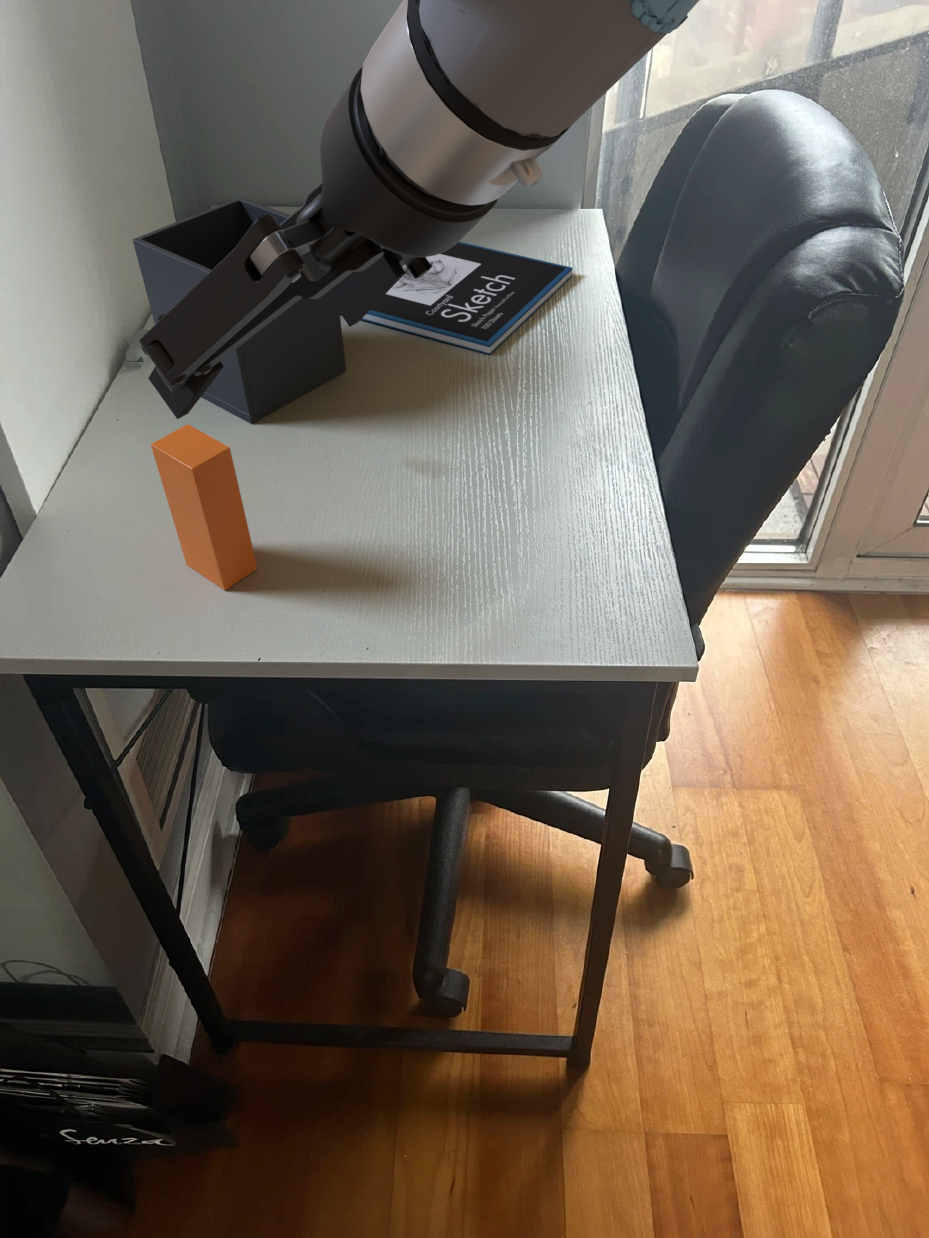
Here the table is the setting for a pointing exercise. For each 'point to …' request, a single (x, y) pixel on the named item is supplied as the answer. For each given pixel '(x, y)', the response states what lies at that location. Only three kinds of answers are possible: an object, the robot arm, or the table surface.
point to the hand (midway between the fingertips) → (260, 348)
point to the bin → (277, 354)
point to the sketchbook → (469, 296)
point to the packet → (205, 505)
